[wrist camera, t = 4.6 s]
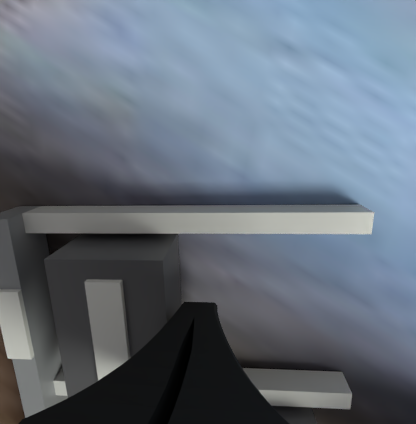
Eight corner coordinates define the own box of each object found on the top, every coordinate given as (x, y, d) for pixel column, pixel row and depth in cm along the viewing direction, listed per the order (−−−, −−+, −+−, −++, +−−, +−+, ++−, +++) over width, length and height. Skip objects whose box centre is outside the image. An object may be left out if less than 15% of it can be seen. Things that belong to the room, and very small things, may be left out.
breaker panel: (327, 507, 16) (342, 566, 14) (71, 489, 17) (49, 539, 15) (360, 204, 12) (388, 220, 10) (18, 206, 13) (-24, 220, 11)
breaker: (184, 363, 14) (172, 423, 11) (101, 360, 14) (67, 418, 11) (177, 232, 12) (161, 263, 9) (84, 232, 13) (39, 261, 10)
